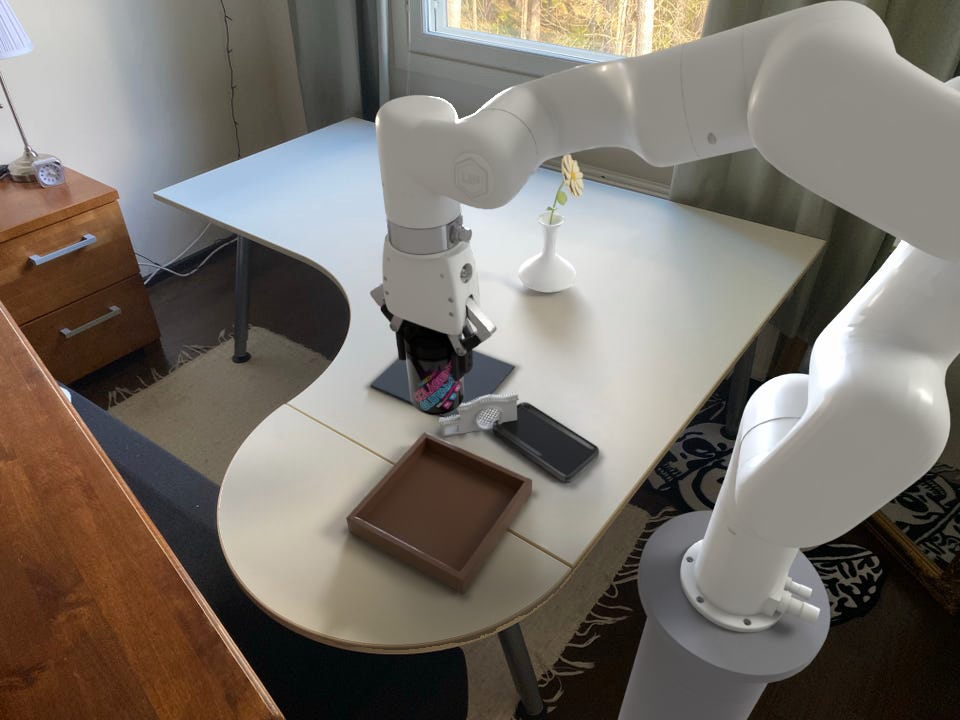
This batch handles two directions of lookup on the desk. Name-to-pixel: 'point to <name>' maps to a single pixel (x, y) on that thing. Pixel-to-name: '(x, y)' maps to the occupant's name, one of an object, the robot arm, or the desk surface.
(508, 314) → the desk surface
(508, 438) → the phone
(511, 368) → the mat
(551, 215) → the flower in vase
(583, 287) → the desk surface
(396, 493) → the tray
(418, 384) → the supplement container
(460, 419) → the garden wall model
